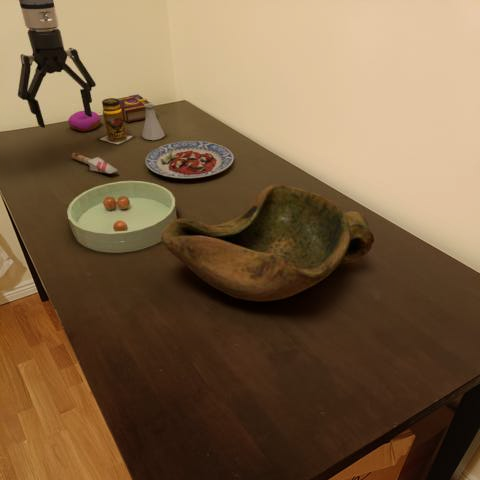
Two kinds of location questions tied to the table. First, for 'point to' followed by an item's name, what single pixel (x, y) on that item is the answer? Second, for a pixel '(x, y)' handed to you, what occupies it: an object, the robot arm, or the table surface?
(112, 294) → the table surface
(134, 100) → the decorative book
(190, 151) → the ceramic plate
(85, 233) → the bowl
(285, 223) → the bowl
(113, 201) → the bead
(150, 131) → the flask
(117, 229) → the bead
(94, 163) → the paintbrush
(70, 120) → the donut
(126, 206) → the bead
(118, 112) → the condiment
